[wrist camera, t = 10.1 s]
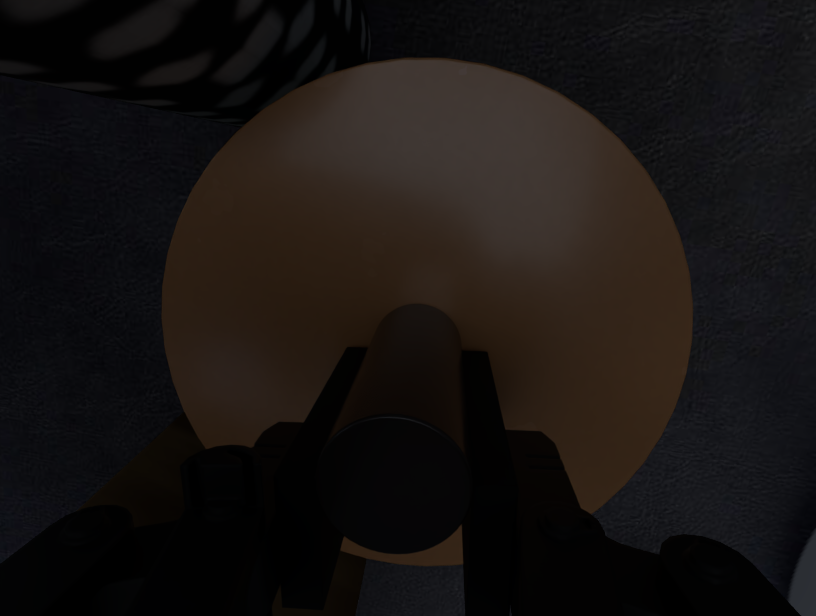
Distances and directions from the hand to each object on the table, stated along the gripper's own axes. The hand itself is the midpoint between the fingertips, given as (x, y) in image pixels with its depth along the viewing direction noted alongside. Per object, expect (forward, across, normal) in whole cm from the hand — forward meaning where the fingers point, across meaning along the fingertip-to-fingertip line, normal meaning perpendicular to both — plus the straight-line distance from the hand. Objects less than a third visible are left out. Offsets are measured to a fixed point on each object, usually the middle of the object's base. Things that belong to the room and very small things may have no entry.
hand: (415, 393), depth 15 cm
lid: (+1, 0, +1) cm, 2 cm away
